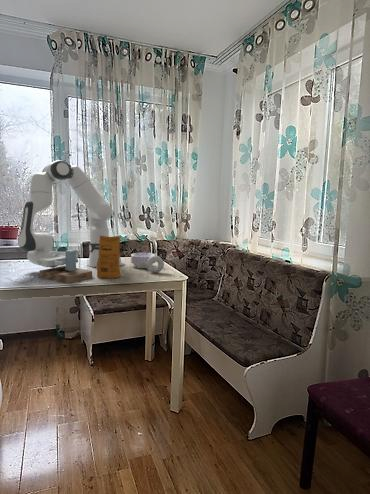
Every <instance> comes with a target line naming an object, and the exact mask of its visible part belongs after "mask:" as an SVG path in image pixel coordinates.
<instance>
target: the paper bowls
mask: <svg viewBox="0 0 370 494" xmlns="http://www.w3.org/2000/svg"><path fill="white" fill-rule="evenodd" d="M152 256H157V255H156V254H155V253H151V252H135V253H134V252H133V253H131V255H130V263H131V264H133V266H134V267H135V268H137V269H148V268H147V261H148V259H149V258H150V257H152ZM155 263H156V261H155V262H153V264H155Z"/></svg>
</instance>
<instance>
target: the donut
mask: <svg viewBox="0 0 370 494" xmlns="http://www.w3.org/2000/svg"><path fill="white" fill-rule="evenodd" d="M153 262H155V263H157V265H156V266H154V263H153ZM164 268H165V262H164V259H163V258H162V257H160V256H159V255H156V256H152V257H150V258H149V259H148V261H147V268H146V269H147V270H148V271H149V272H151V273H154V274H156V273H160V272H161V271H162V270H163V269H164Z"/></svg>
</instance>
